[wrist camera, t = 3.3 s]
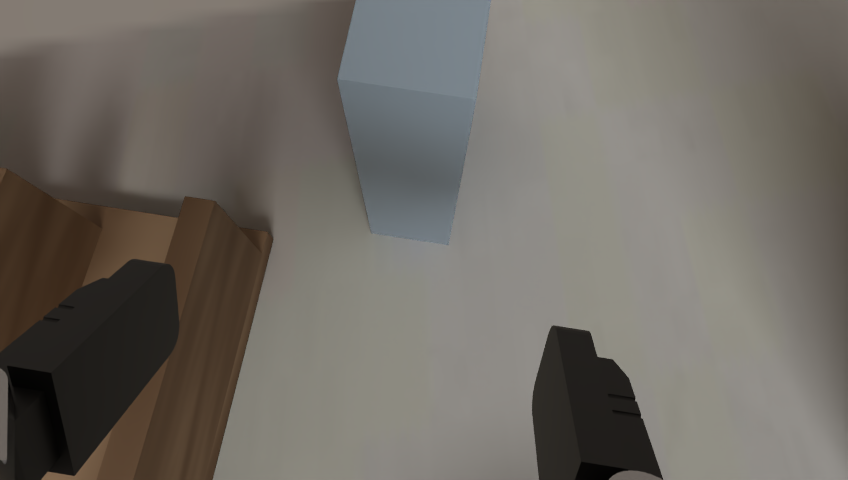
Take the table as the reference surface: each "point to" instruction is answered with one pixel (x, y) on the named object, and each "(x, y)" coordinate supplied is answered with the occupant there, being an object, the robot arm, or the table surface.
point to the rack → (197, 306)
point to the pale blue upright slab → (412, 108)
